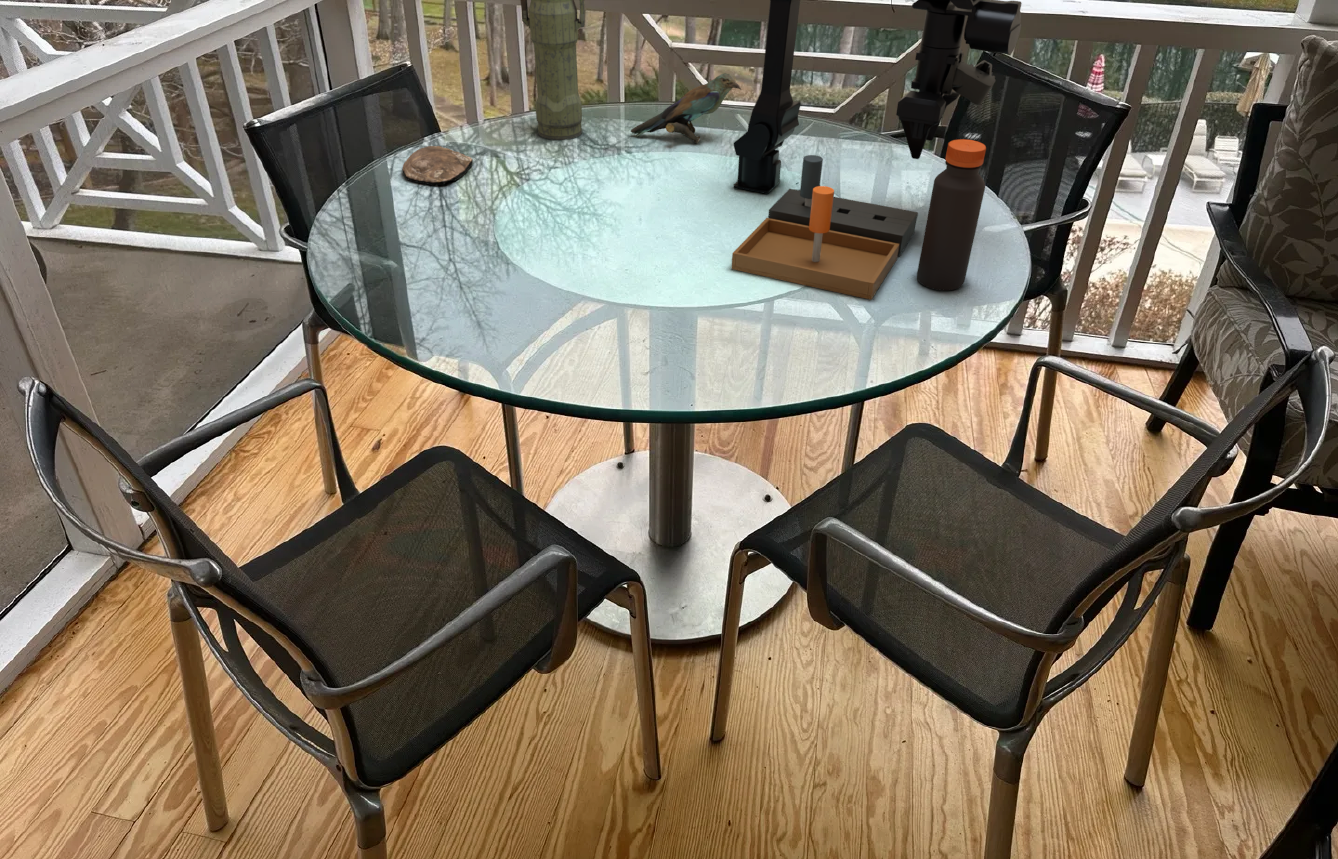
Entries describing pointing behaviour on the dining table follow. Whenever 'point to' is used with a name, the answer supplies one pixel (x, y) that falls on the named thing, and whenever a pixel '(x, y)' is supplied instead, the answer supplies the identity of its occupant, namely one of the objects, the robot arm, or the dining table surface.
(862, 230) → the rack
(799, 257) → the tray
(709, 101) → the bird figurine
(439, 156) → the shell
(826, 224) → the orange-handled tool
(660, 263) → the dining table surface
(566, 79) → the thermos
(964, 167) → the bottle
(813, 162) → the screwdriver
